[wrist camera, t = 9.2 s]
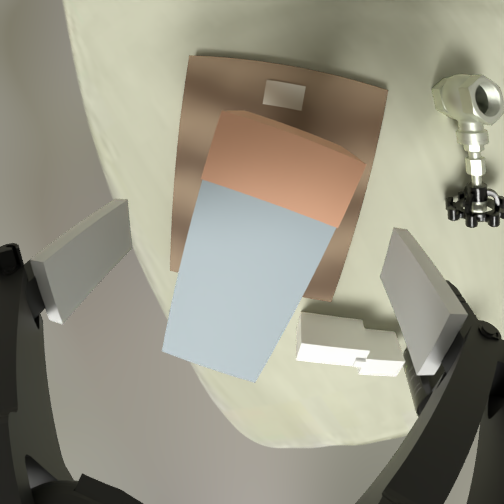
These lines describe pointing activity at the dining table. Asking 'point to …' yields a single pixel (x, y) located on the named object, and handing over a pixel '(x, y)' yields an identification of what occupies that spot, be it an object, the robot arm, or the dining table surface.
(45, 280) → the robot arm
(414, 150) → the dining table surface
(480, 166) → the valve
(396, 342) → the white stepped block
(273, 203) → the blue-orange block
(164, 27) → the dining table surface
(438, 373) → the supplement bottle
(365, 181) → the board
